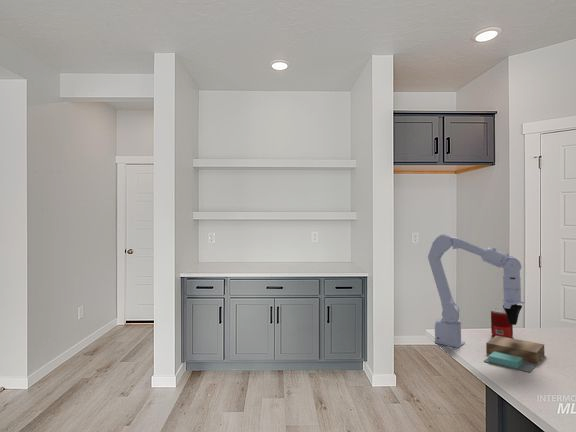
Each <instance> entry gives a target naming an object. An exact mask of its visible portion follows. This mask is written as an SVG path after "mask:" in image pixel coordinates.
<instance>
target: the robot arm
mask: <svg viewBox="0 0 576 432" xmlns="http://www.w3.org/2000/svg"><path fill="white" fill-rule="evenodd" d="M451 248H452V250H456V249H457V250H458V249H461V250H463V251H466V252H469V253H471V254H474V255H477V256H479V257H481V260H482V261H483V262H486V263H488V264H490V265H492V266H495V267H496V268H498V269H500V268H502V269H503V276H502V282H503V283H502V287H503V290H502V291H503V299H502V302H503V305H502V309H504V310H505V312H506V314H507V317H508V321H509V324H512V325H513V326H516V325H517V324H518V320H519V316H520V312H521V310H522V308H523V305H522V304H525V303H526V301H525V300H522V286H521V272H520V271H521V269H522V265H521V261H520V260H519V259H517V257H516V258H515V257H514V256H512V255H510V254H509V253H503V252H501V251H499V250H497V248H495V247H487V248H482V247H480V246H478V245H476V244H473V243H471V242H468V241H467V240H464V239H462V238H459V237H456V236H450V235H448V234H443V233H442V234H440V235H438V236H437V237H436V238H435V239H434V241H432V243H431V247H430V249H429V252H428V256H427V259H428V260H427V261H428V262H429V266H430V270H431V272H432V276H433V279H434V282H435V285H436V289H437V292H438V296H439V299H440V303H441V309H442V312H441V319H437V320H436V321H435V324H434V342H433V343H435V344H439V345H444V346H448V347H452V348H460V347H461V346H463V345H464V344H466V342H465V341H463V340H462V326H461V325H462V323H461V322H462V321H461V319H460V308H459V306H458V305H457V304H456V302H455V300H454V297H453V295H452V291H451V288H450V285H449V281H448V279H447V276H446V273H445V272H446V271H445V268H444V266H443V263H442V260H441V259H442V257H443V256H444V254H445V253H446V252H447V251H448V250H450V249H451Z"/></svg>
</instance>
